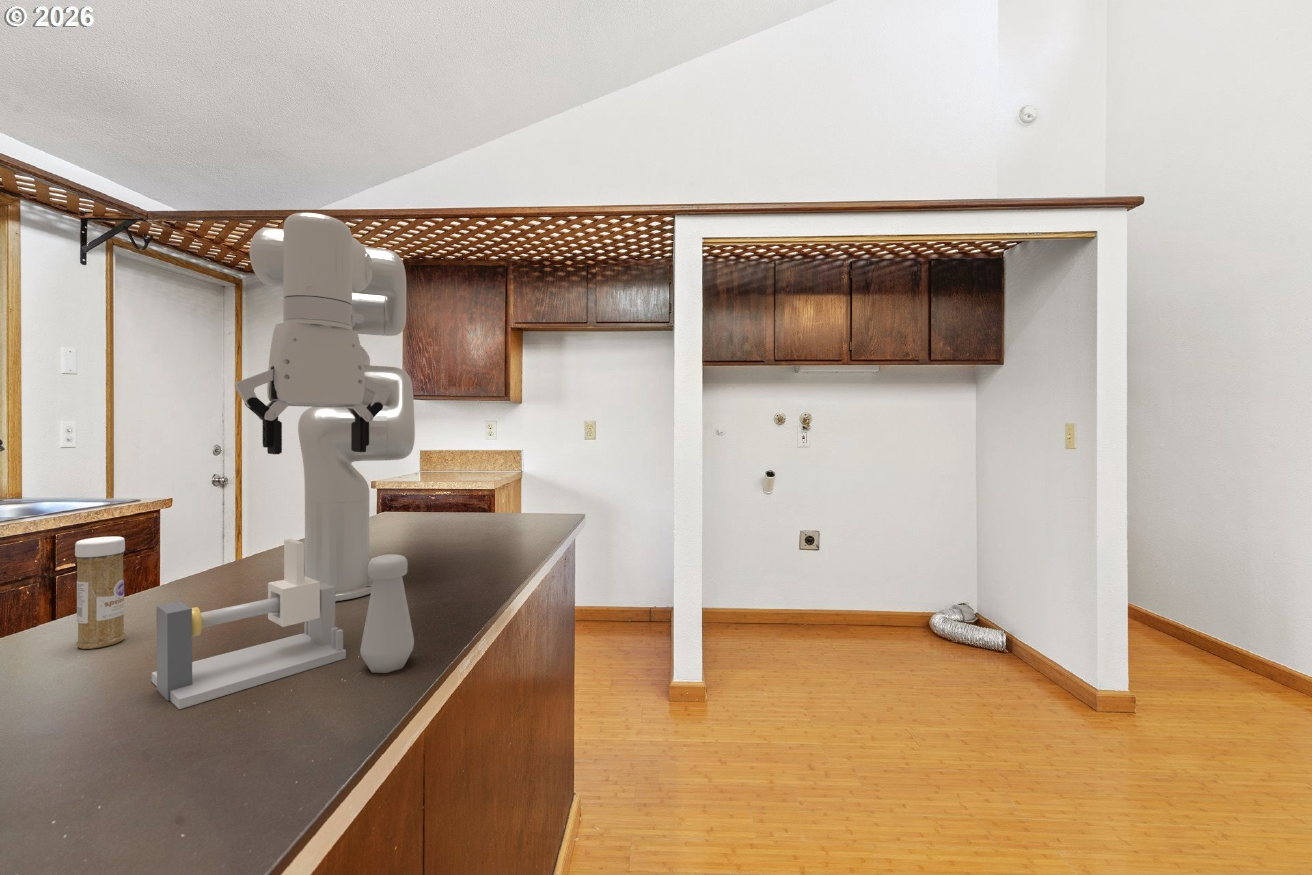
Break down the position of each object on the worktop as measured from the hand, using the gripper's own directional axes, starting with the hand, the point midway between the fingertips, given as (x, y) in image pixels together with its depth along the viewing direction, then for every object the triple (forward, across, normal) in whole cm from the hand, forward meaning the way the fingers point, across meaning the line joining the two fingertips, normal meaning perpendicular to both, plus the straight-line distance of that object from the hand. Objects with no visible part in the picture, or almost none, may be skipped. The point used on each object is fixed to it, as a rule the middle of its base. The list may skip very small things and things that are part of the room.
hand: (318, 452), depth 73 cm
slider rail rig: (+25, +7, +2) cm, 26 cm away
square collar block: (+20, +3, +2) cm, 20 cm away
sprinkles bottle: (+25, +18, -21) cm, 38 cm away
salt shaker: (+25, -4, +12) cm, 28 cm away
